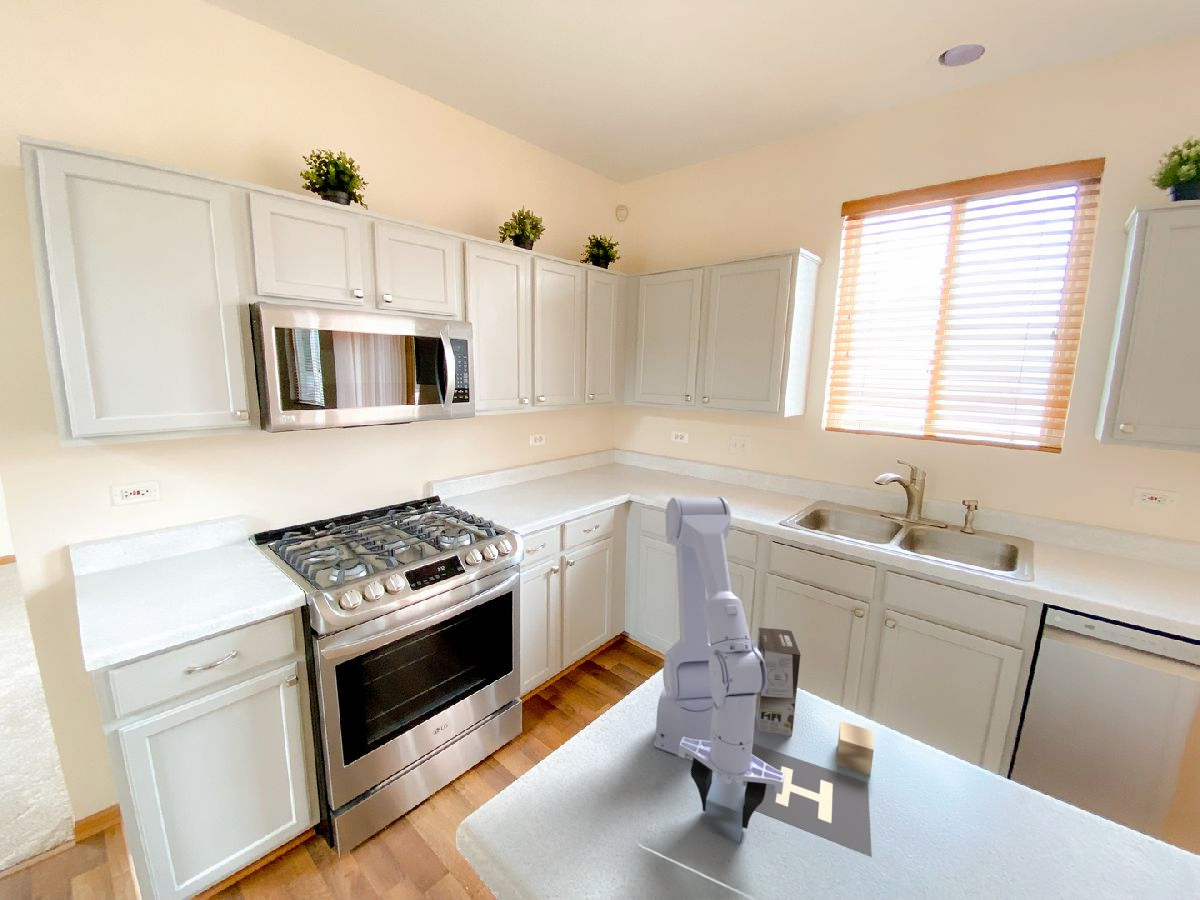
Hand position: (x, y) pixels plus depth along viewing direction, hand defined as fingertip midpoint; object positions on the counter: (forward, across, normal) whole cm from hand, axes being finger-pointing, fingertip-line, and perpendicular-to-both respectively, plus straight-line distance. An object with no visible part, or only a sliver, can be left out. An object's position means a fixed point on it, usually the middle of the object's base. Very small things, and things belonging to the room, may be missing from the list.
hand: (725, 814), depth 72 cm
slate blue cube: (+1, 0, 0) cm, 1 cm away
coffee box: (+2, +3, +27) cm, 27 cm away
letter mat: (+1, +10, +11) cm, 15 cm away
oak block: (+2, +17, +22) cm, 28 cm away
